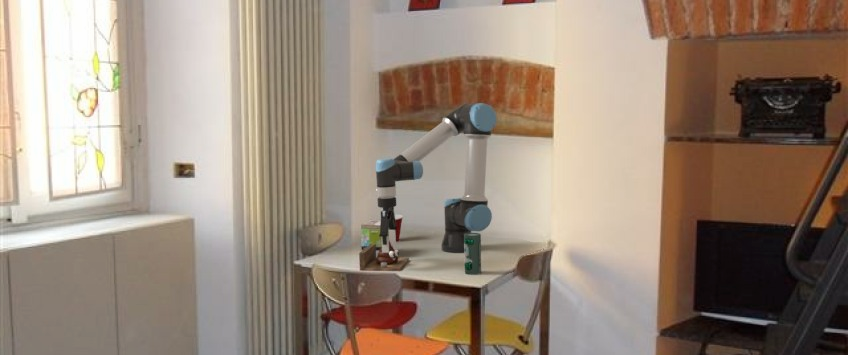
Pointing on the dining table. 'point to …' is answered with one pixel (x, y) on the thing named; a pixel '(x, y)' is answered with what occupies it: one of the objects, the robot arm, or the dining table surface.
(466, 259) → the can
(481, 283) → the dining table surface
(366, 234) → the tea box
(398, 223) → the plastic cup
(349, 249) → the dining table surface
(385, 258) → the poop emoji
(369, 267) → the ledge
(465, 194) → the robot arm
